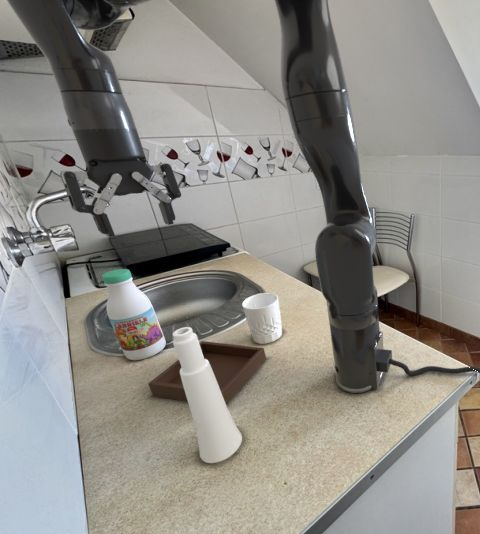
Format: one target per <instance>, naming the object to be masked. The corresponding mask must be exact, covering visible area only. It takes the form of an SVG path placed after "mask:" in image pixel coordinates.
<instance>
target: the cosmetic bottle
mask: <svg viewBox="0 0 480 534" xmlns="http://www.w3.org/2000/svg"><path fill="white" fill-rule="evenodd" d="M172 337H173V340H172V344H173V347H174V350H175V353H176V356H177V358H178V359H177V360H179V361H180V364H181V369H180V376H181V379H182V383H183V387H184V390H185V394H186V397H187V400H188V401H187V403H188V407H189V410H190V414H191V417H192V421H193V424H194V428H195V432H196V438H197V442H198V449H199V450H198V451H199V458H200V460H201V461H202V462H204V463H206V464H217V463H220V462H223V461H225V460H227V459H228V458H230V457H232V456H233V455H234V454H235V453H236V452H237V451H238V449H239V448H240V446H241V445H242V442H243V435H242V433H241V431H240V430H239V428H238V426H237V425H236V423H235V421H234V419H233V418H232V415H231V413H230V411H229V408H228V406H227V404H226V403H225V401H224V398H223V396H222V393H221V391H220V388H219V385H218V383H217V380H216V378H215V375H214V373H213V370H212V368H211V366H210V363H209V361H208V360H207V359H204V356H203V353H202V350H201V347H200V344H199V343H200V342H199V341H200V340H199V338H198V335H197V334H196V333H195V332H194V330H193V328H192V327H190V326H185V327H180V328H178V329H176V330H174V331H173V332H172Z"/></svg>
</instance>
